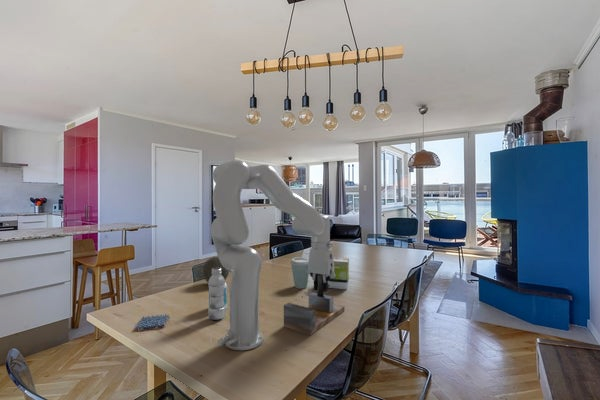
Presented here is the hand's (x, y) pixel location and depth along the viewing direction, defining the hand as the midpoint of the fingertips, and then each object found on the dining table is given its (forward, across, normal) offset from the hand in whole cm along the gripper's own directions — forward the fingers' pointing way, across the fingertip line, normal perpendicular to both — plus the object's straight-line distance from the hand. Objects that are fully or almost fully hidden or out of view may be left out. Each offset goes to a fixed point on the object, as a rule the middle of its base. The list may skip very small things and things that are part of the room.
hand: (320, 290), depth 116 cm
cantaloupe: (+10, +69, -2) cm, 70 cm away
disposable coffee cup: (+10, +28, -25) cm, 39 cm away
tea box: (+11, +14, -37) cm, 41 cm away
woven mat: (+11, +48, +44) cm, 66 cm away
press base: (+10, 0, +4) cm, 11 cm away
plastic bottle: (+10, +32, +27) cm, 43 cm away
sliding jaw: (+8, 0, 0) cm, 8 cm away
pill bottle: (+10, +40, +20) cm, 46 cm away
